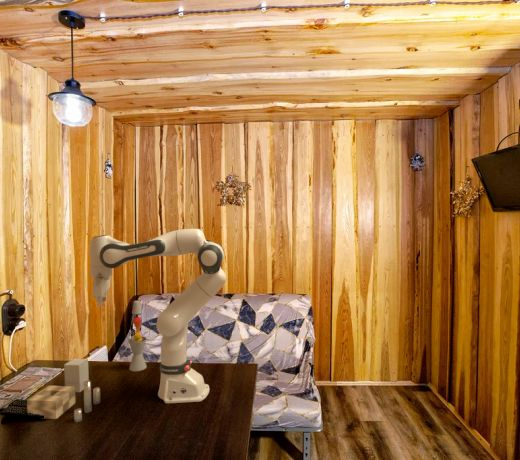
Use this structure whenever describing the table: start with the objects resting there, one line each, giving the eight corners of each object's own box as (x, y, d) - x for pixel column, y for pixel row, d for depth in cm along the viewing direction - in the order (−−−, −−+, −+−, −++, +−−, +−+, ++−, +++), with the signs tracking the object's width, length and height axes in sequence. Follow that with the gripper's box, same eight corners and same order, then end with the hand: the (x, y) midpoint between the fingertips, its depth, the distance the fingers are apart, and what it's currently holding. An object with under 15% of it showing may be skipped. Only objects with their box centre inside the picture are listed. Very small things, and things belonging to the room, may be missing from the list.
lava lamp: (128, 365, 186) (127, 300, 185) (146, 363, 189) (145, 298, 188) (128, 372, 177) (127, 303, 176) (147, 369, 181) (146, 302, 180)
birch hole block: (75, 402, 149) (74, 386, 148) (56, 419, 137) (55, 401, 136) (48, 401, 150) (48, 385, 149) (27, 417, 138) (27, 400, 138)
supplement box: (89, 385, 164) (88, 358, 164) (79, 392, 157) (79, 365, 157) (74, 384, 165) (73, 357, 165) (64, 392, 158) (63, 364, 157)
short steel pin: (83, 418, 137) (83, 408, 137) (79, 422, 134) (79, 412, 134) (77, 418, 137) (76, 408, 137) (72, 422, 135) (72, 411, 134)
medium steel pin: (101, 401, 150) (101, 387, 150) (98, 404, 147) (97, 390, 147) (95, 400, 150) (95, 387, 150) (92, 404, 148) (91, 390, 147)
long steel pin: (92, 409, 143) (92, 380, 143) (89, 412, 141) (88, 383, 140) (86, 409, 144) (86, 380, 143) (82, 412, 141) (82, 383, 141)
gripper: (105, 275, 144) (105, 308, 145) (112, 268, 164) (113, 297, 165) (88, 276, 143) (89, 309, 143) (98, 269, 163) (98, 298, 163)
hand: (102, 303), depth 154 cm, fingers open, 8 cm apart
